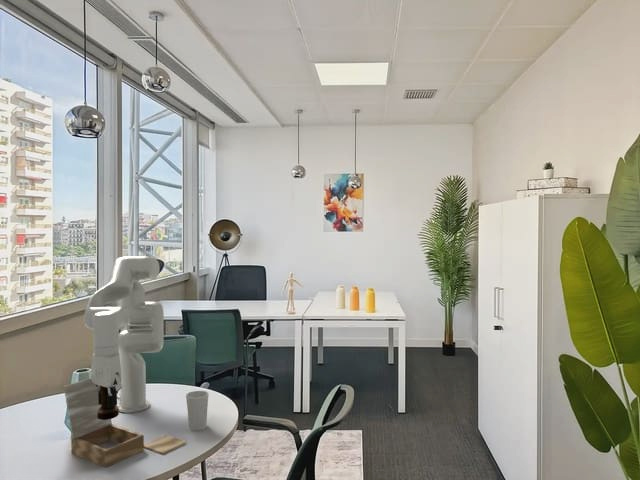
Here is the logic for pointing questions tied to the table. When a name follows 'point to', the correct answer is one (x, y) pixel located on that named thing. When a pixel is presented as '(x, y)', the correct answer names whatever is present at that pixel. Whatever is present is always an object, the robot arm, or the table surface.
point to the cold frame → (96, 428)
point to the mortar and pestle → (106, 407)
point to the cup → (197, 409)
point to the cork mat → (164, 444)
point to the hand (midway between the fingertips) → (107, 404)
